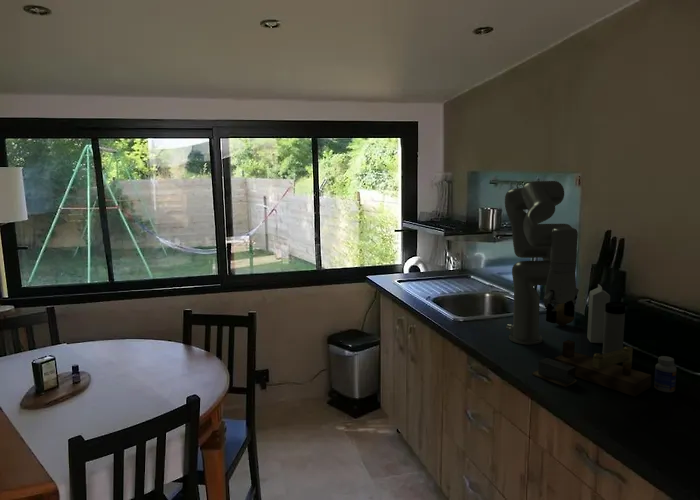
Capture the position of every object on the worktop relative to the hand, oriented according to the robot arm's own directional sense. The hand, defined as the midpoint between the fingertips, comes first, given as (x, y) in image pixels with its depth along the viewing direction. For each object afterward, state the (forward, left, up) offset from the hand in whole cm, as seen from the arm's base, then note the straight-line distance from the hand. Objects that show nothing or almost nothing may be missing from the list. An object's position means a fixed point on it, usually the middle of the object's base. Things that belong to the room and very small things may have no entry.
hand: (560, 319), depth 156 cm
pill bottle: (+25, +16, -20) cm, 36 cm away
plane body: (+9, +9, -19) cm, 23 cm away
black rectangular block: (+1, -2, -19) cm, 19 cm away
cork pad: (0, -2, -19) cm, 20 cm away
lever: (+16, +3, -15) cm, 22 cm away
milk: (-9, +41, -20) cm, 46 cm away
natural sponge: (-27, +47, -20) cm, 58 cm away
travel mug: (+3, +29, -20) cm, 35 cm away
